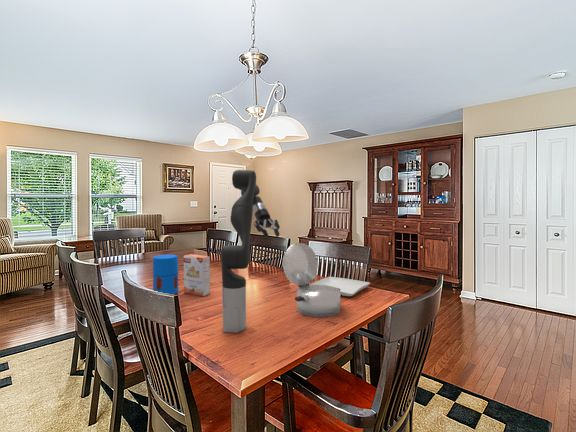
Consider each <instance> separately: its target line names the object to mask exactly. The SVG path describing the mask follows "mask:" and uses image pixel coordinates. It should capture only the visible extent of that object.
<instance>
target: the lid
mask: <svg viewBox="0 0 576 432" xmlns="http://www.w3.org/2000/svg"><path fill="white" fill-rule="evenodd" d="M282 268H283V272H284V275H285V276H286V278H287V279H288V281H289V282H290V283H292V284H293V285H295V286H298V288H300V287H302V286H306V285H310V283H311V282H313V281H314V279H315V277H316V275H317V273H318V259H317V255H316V253H315V252H314V250H313V249H312V248H311V247H310V246H309V244H306V243H303V242H297V243H293V244H291V245H290V246H288V248H286V250H285V251H284V254H283V257H282Z"/></svg>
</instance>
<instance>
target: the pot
mask: <svg viewBox="0 0 576 432" xmlns="http://www.w3.org/2000/svg"><path fill="white" fill-rule="evenodd" d="M296 291H297V292H296V295H297V296H295V297H294V300H295V301H296V302H297V303H296V304H297V305H296V308H297V312H298V313H299V314H302V315H304V316H306V317H313V318H329V317H334V316H336V315H338V314H339V313H340V312H341V295H340V289H339V288H335V287H332V286H327V285H311V284H309V285H306V286H302V287H298V288H297V290H296Z"/></svg>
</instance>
